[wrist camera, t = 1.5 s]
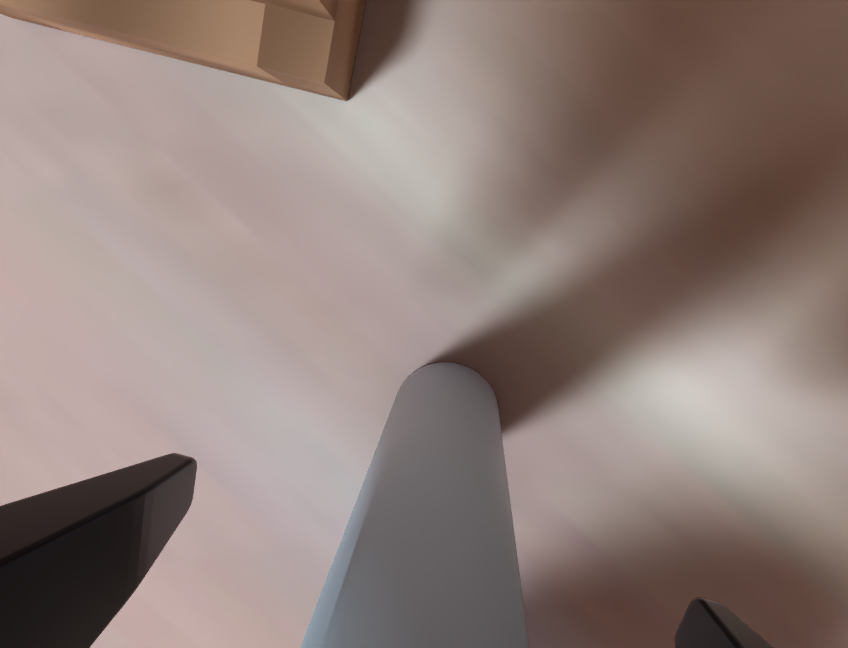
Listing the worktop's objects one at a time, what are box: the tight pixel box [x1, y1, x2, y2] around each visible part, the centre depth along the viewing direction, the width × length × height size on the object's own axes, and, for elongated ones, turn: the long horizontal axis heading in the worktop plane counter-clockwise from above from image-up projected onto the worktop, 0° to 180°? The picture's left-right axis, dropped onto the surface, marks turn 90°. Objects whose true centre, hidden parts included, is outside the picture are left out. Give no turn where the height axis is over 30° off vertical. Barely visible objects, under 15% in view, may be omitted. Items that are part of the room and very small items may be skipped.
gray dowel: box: [300, 362, 529, 648], centre depth 9 cm, size 3×3×10 cm
